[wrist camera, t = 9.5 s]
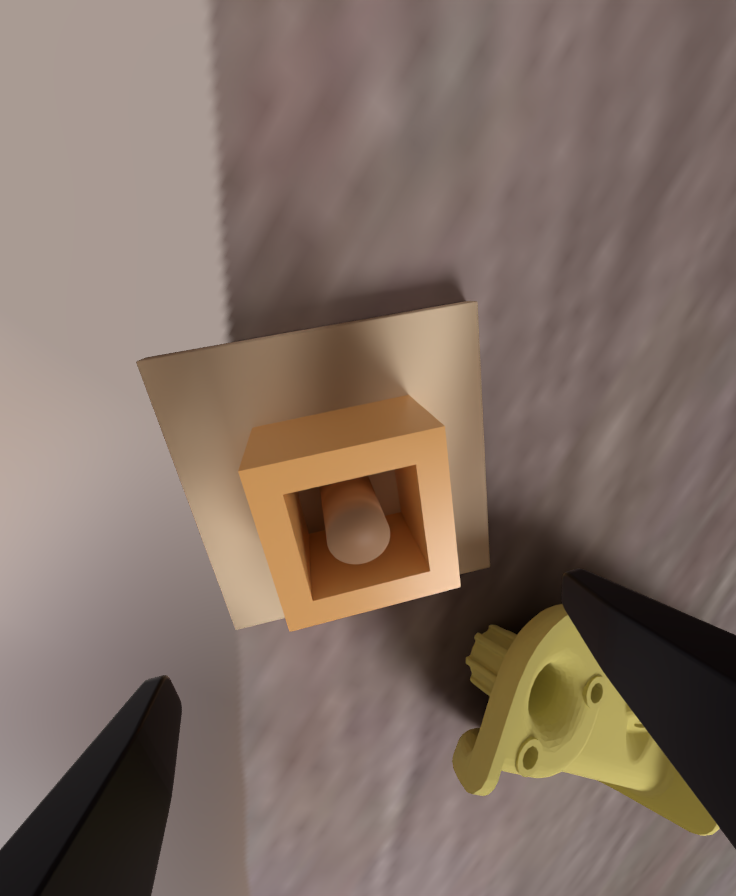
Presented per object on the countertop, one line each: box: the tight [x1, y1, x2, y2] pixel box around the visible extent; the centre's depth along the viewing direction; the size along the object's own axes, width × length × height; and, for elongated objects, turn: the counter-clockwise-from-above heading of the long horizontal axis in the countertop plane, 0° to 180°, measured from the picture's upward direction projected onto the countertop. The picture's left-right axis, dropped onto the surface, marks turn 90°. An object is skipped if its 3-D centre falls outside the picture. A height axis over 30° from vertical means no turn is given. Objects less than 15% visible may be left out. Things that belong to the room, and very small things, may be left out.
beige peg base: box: [136, 301, 490, 630], centre depth 15 cm, size 12×12×5 cm
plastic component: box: [452, 604, 720, 836], centre depth 22 cm, size 20×7×10 cm
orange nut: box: [238, 395, 461, 632], centre depth 14 cm, size 6×6×4 cm
